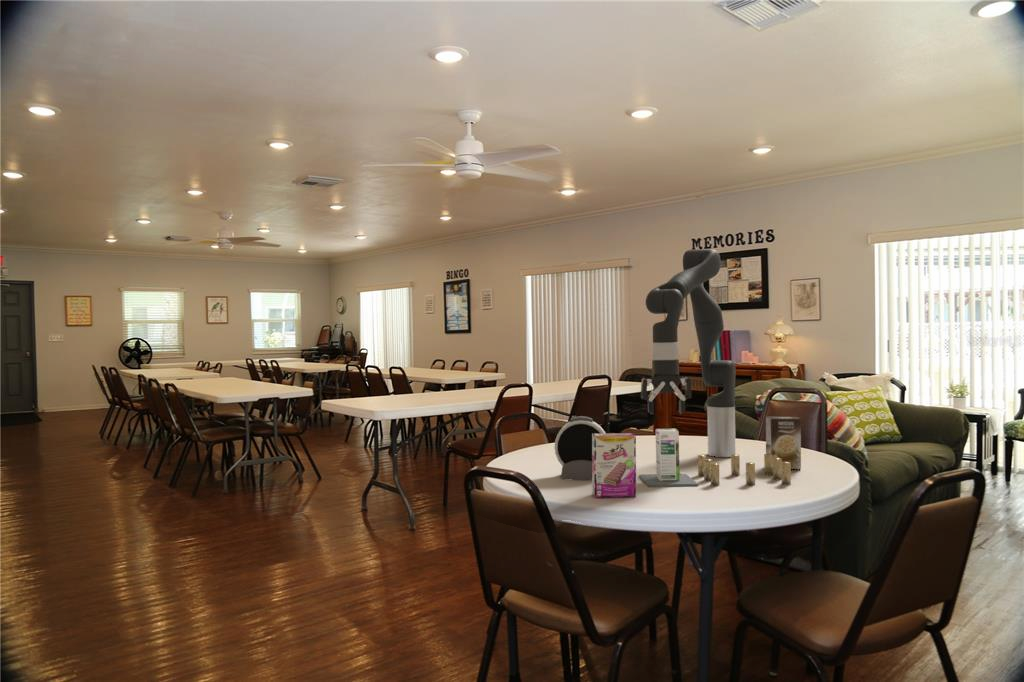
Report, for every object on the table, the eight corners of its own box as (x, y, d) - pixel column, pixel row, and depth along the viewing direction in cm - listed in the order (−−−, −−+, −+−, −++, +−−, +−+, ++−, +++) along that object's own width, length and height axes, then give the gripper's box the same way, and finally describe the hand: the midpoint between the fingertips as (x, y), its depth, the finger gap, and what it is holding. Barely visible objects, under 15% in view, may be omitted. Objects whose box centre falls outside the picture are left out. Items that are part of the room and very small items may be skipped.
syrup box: (659, 481, 193) (659, 430, 193) (656, 477, 199) (655, 427, 199) (679, 481, 193) (679, 430, 193) (675, 476, 199) (674, 427, 199)
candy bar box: (594, 498, 176) (593, 436, 176) (591, 494, 181) (590, 433, 181) (637, 497, 177) (636, 435, 177) (633, 493, 182) (632, 432, 182)
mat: (639, 476, 203) (639, 474, 203) (685, 475, 203) (685, 473, 203) (648, 486, 189) (648, 484, 189) (698, 486, 189) (698, 483, 189)
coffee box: (771, 470, 209) (770, 418, 209) (765, 466, 216) (764, 416, 215) (801, 470, 208) (801, 418, 208) (795, 466, 215) (794, 416, 215)
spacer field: (697, 474, 204) (696, 455, 204) (771, 473, 204) (770, 453, 204) (712, 486, 189) (711, 464, 189) (792, 484, 189) (791, 463, 189)
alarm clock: (554, 480, 200) (553, 418, 200) (557, 473, 210) (556, 414, 210) (609, 480, 198) (608, 418, 198) (609, 473, 208) (608, 414, 208)
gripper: (686, 357, 199) (687, 411, 200) (638, 358, 200) (639, 412, 200) (693, 358, 192) (694, 415, 192) (643, 359, 192) (644, 416, 192)
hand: (666, 413), depth 196 cm, fingers open, 8 cm apart
